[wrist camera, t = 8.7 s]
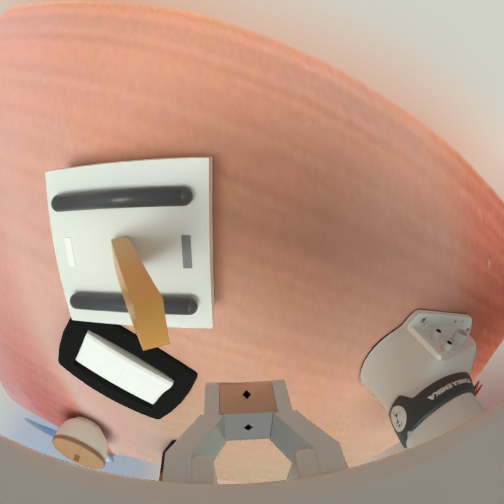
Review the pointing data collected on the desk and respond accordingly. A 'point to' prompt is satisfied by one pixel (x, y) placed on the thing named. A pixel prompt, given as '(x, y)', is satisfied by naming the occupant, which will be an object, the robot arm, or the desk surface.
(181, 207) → the box
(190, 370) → the black picture frame
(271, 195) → the desk surface
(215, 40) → the desk surface
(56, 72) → the desk surface
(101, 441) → the lidded jar
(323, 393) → the desk surface
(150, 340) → the lever
